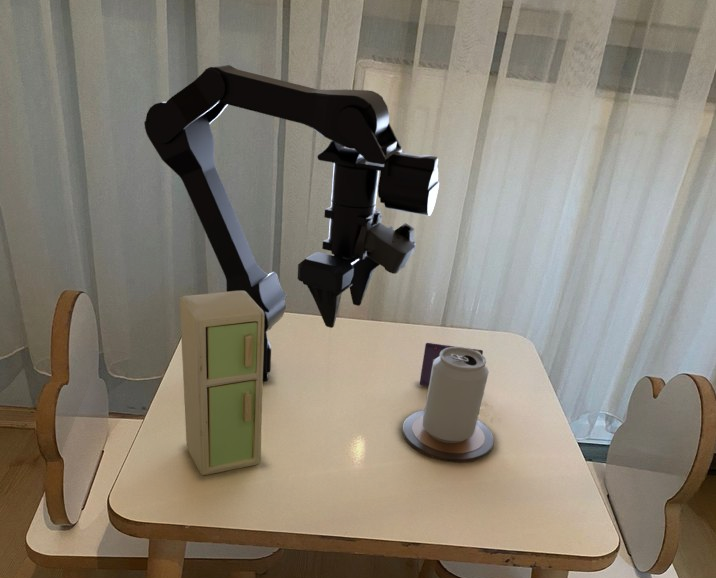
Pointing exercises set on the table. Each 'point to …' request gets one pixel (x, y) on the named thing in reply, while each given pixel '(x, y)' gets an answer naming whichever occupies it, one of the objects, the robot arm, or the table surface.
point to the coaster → (445, 451)
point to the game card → (432, 360)
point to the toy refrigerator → (222, 379)
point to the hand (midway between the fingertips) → (343, 315)
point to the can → (455, 394)
